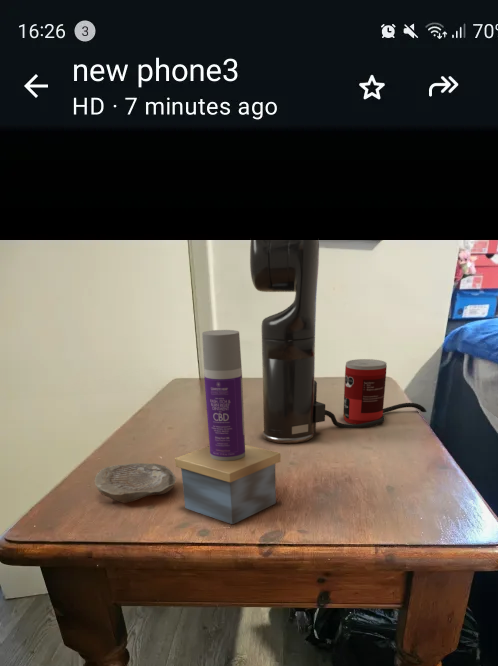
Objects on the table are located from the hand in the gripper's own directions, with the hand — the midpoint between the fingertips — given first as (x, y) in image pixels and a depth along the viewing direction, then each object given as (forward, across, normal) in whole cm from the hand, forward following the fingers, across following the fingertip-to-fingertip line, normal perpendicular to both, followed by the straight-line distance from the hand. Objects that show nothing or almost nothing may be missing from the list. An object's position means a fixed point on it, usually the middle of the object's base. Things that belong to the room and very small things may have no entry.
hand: (227, 204), depth 73 cm
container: (+28, -8, +11) cm, 31 cm away
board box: (+35, -8, +11) cm, 38 cm away
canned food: (+36, +1, -38) cm, 53 cm away
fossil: (+35, +6, +16) cm, 39 cm away
